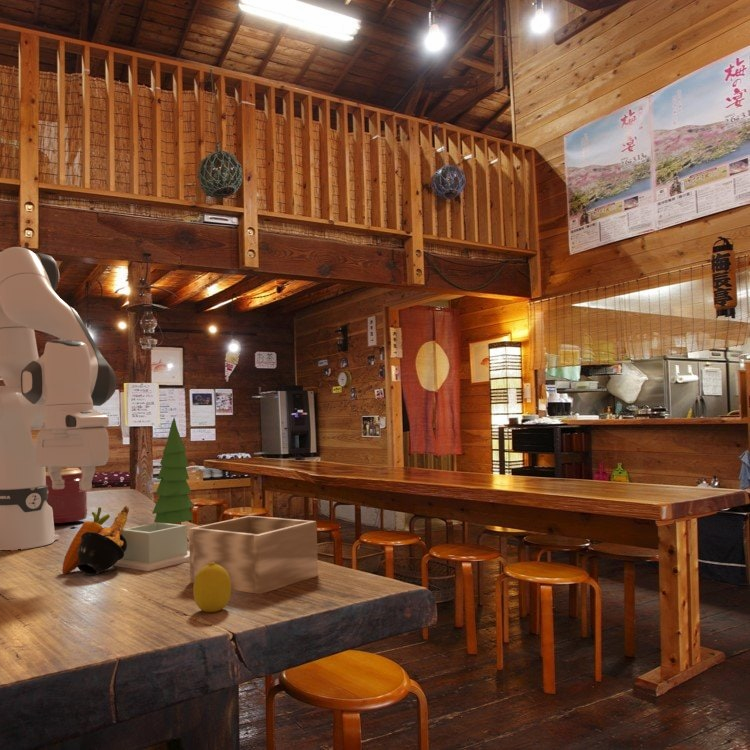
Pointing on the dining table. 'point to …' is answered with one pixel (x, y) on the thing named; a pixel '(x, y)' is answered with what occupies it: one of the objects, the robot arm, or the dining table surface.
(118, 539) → the bowl of food
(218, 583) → the lemon
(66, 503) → the canister
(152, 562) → the open rectangular box
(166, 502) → the decorative tree
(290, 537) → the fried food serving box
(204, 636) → the dining table surface
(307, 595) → the dining table surface
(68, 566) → the carrot
